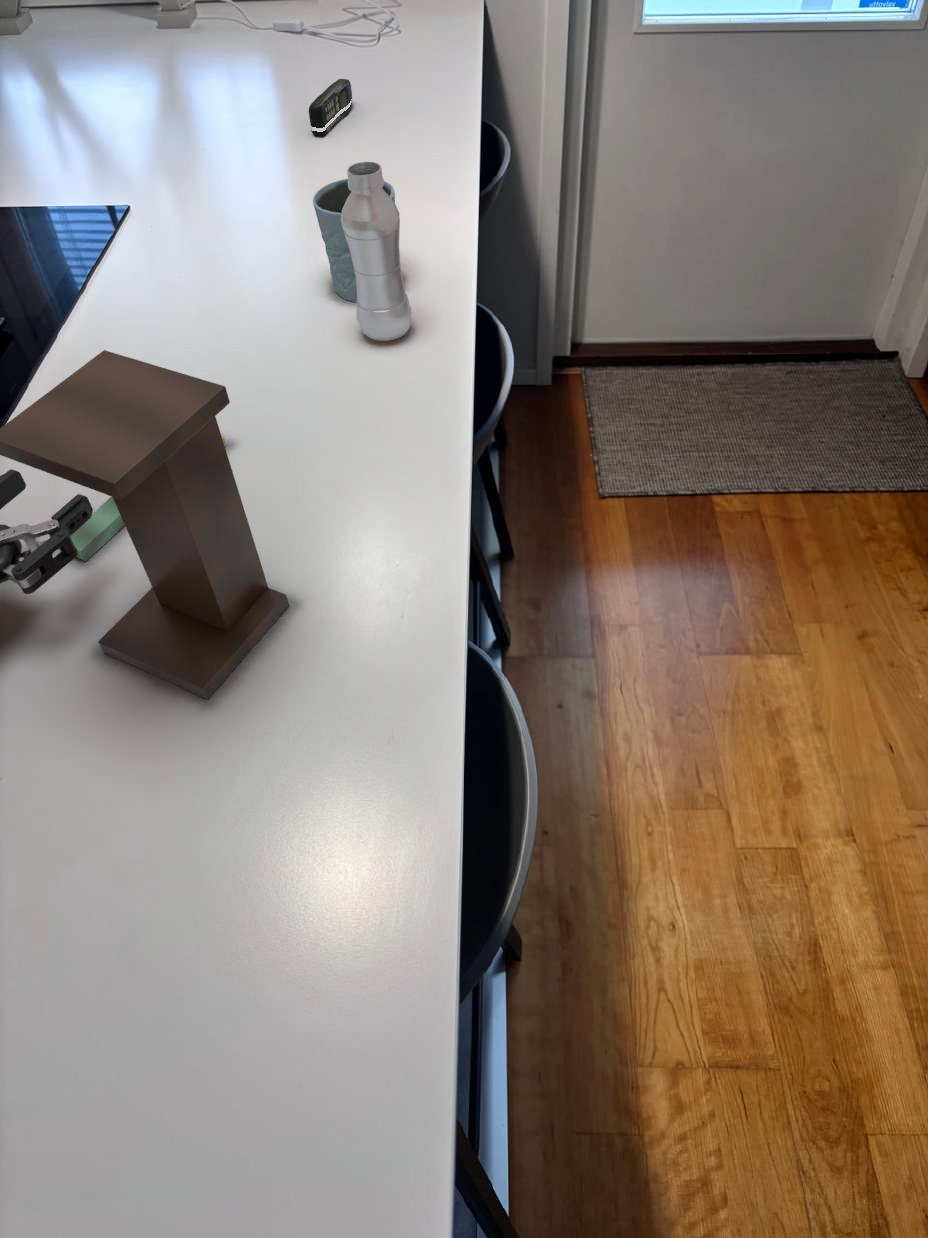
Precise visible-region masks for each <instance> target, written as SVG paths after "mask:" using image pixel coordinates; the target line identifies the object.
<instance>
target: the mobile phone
mask: <svg viewBox="0 0 928 1238" xmlns="http://www.w3.org/2000/svg"><path fill="white" fill-rule="evenodd" d="M351 99H352V100H353V90H352V84H351V82H350V79H347V78H338V79H337V80H335V81H334V82H332V83H331V84H330V85H329V86H328V87H327V88H325V90H324V91H323V92H322V93H321V94H319V95H318V96H317V97H316V98H315V99H314V100H313V101H312V102H311V103H310V104H309V107H308V116H309V117H308V118H309V124H310V127H311V126H312V127H316V128H323V127H325V125H326V124H327V123H328V122H329V121H330V120H331V119H332V118H334V117H335V115H336V114H337V113H338V112H339V111H340V110H341V109H343V108H344V107H346V106H347V105H348V104H349V103H350V101H351ZM352 105H353V102H352V103H351V105H350V107H349V108H348V109H347V110H346V111H344V112H343V113H342V114H340V115H339V116H338V117H337V118H336V119H335V120H334V121H333V122H332V123H331V124H330V125H329V126H328V127H327V128H326V130H325V131H323V132H317V131H312V130H311V133H312V134H313V136H317V137H324V136H326V135H327V133H329V131H331V129H333V128H334V127H335V126H336V124H337V123H339V122H340V121H341V120H342V119H343V118H345V117H346V116H347V115H348V113H349V112H350V110H351V107H352Z"/></svg>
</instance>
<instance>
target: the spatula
mask: <svg viewBox="0 0 928 1238" xmlns="http://www.w3.org/2000/svg"><path fill="white" fill-rule="evenodd" d="M222 439H223V443H224V446H225V448H226V447H227V442H226V439H225V437H224V436H222ZM124 527H126V526H125V524H124V522H123V520H122V517H121V515H120V513H119V511H118V508H117V506H116V504H115V502H114V499H113V497H112V496H110V497H109V498H108V499H107V500H106V501H104V503H102V504H101V505H100V506H98V508H97V509H96V510H95V511H94V512H92V516H91V518H90V519H89V520H88V521H87V522H85V524H83V525H82V526H81V527H80V528H79V529H78V530H77V531H76V532H74V533H73V534H72V535H71V539H72V541H73V543H74V545H75V547H76V548H77V550H78V555H77V556H76V557H75V559H78V560H81V561H83V562H87V561H88V560H89V559H90V558H92V557H93V556H94V555H95V554H96V553H97V552H98V551H99V550H100V549H101V548H102V547H103V546H104V545H106V544H107V542H109V541H110V540H111V539H112V538H114V536H115V535H116V534H117V533H118V532H119V531H121V530H122V529H123V528H124Z"/></svg>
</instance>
